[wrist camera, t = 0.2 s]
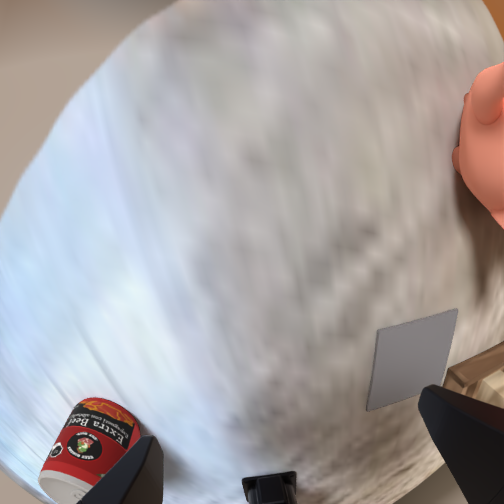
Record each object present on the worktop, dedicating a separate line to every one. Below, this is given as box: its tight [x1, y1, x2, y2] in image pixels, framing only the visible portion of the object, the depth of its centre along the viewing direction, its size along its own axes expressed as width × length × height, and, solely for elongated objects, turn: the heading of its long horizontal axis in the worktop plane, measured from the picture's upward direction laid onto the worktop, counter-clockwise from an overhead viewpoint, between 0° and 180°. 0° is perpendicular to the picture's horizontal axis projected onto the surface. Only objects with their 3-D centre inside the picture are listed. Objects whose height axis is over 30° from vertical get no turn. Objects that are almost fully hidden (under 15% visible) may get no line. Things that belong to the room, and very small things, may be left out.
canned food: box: [38, 398, 140, 504], centre depth 19 cm, size 8×8×11 cm
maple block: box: [475, 370, 504, 408], centre depth 23 cm, size 4×4×6 cm
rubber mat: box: [366, 309, 458, 412], centre depth 25 cm, size 10×10×1 cm
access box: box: [443, 341, 504, 399], centre depth 27 cm, size 10×16×4 cm, turn 95°
